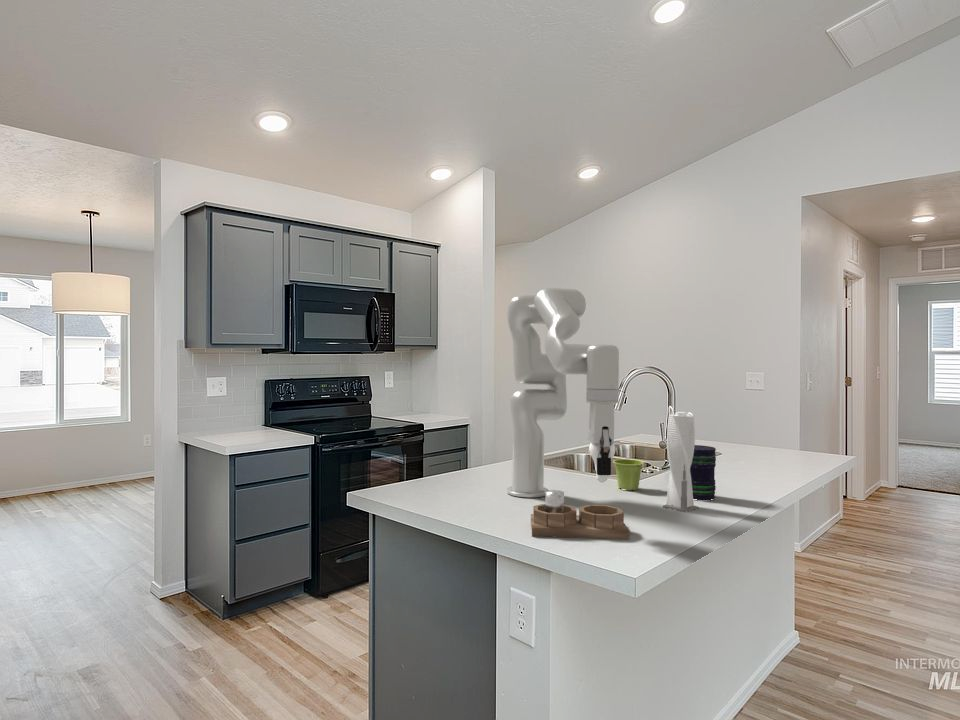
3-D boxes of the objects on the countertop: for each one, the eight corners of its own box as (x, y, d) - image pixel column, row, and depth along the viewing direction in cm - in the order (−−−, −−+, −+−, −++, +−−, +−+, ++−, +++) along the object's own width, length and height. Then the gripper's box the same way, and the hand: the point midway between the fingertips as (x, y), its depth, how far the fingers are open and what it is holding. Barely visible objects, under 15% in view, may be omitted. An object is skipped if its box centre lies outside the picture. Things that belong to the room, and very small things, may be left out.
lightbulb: (583, 482, 140) (584, 435, 140) (598, 478, 145) (598, 433, 145) (605, 486, 136) (606, 438, 136) (620, 482, 140) (620, 436, 140)
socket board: (530, 522, 147) (530, 502, 147) (619, 524, 146) (619, 504, 146) (532, 536, 135) (532, 514, 135) (629, 539, 134) (629, 517, 134)
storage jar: (704, 502, 170) (704, 450, 170) (674, 496, 178) (674, 446, 178) (721, 497, 177) (722, 447, 177) (691, 491, 184) (692, 444, 184)
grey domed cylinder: (544, 518, 143) (545, 489, 143) (563, 519, 143) (563, 490, 143) (545, 523, 139) (546, 493, 139) (564, 524, 139) (564, 494, 139)
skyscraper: (657, 506, 166) (659, 406, 166) (673, 501, 171) (675, 405, 171) (685, 512, 159) (686, 408, 159) (701, 507, 164) (702, 407, 164)
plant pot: (638, 493, 181) (638, 465, 181) (608, 489, 186) (609, 462, 186) (647, 488, 189) (647, 461, 189) (618, 484, 194) (618, 458, 194)
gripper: (582, 394, 149) (581, 465, 149) (591, 398, 132) (590, 479, 132) (612, 394, 149) (611, 466, 149) (625, 398, 132) (624, 479, 132)
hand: (601, 471), depth 140 cm, fingers closed on lightbulb, 5 cm apart
